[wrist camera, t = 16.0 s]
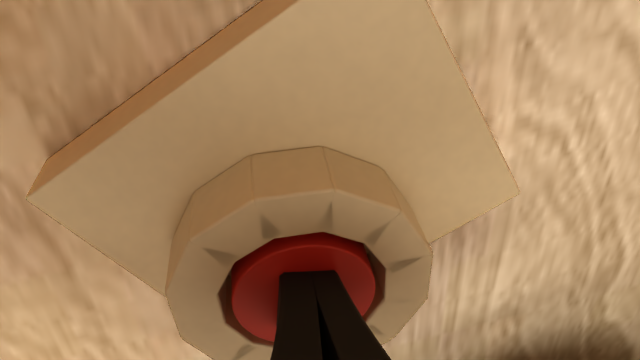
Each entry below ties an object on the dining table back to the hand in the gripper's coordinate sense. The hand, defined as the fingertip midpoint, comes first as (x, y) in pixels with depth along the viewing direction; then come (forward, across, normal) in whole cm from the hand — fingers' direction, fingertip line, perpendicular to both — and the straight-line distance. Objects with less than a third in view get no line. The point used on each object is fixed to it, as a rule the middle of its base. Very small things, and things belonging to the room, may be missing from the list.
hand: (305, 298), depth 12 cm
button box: (+3, 0, -2) cm, 4 cm away
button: (+2, 0, 0) cm, 2 cm away
